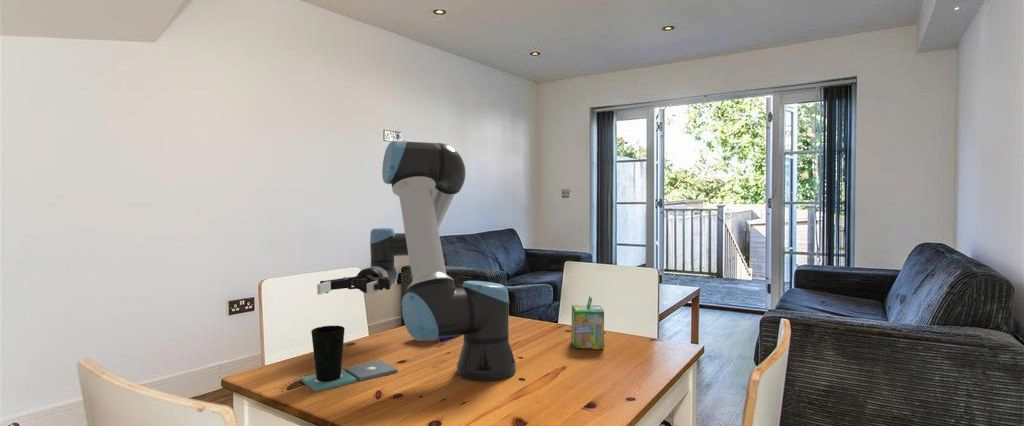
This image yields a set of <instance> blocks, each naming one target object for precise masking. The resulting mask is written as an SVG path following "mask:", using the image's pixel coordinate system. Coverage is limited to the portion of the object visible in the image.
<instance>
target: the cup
mask: <svg viewBox="0 0 1024 426" xmlns="http://www.w3.org/2000/svg"><path fill="white" fill-rule="evenodd" d="M310 332H311V340H312V341H311V342H312V348H313V358H314V368H315V374H316V378H317V381H321V382H328V381H334V380H337V379H339V378H340V377H341V369H342V365H343V353H344V352H343V351H344V340H345V327H344V326H342V325H324V326H318V327H315V328H312V329H311V331H310Z"/></svg>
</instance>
